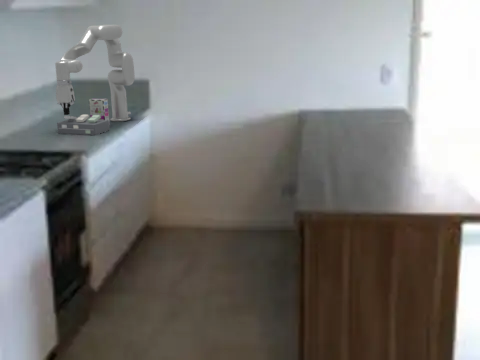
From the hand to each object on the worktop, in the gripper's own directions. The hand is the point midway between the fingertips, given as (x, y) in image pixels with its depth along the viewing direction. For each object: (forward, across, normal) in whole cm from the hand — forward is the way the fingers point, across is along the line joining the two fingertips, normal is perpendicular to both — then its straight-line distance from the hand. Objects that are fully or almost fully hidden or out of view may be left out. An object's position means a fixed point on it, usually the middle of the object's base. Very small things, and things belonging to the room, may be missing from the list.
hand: (66, 114), depth 405 cm
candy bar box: (+11, -7, -23) cm, 26 cm away
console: (+10, -8, -4) cm, 14 cm away
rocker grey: (+3, 0, -4) cm, 4 cm away
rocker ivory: (+3, -8, -4) cm, 9 cm away
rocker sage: (+3, -16, -4) cm, 17 cm away
